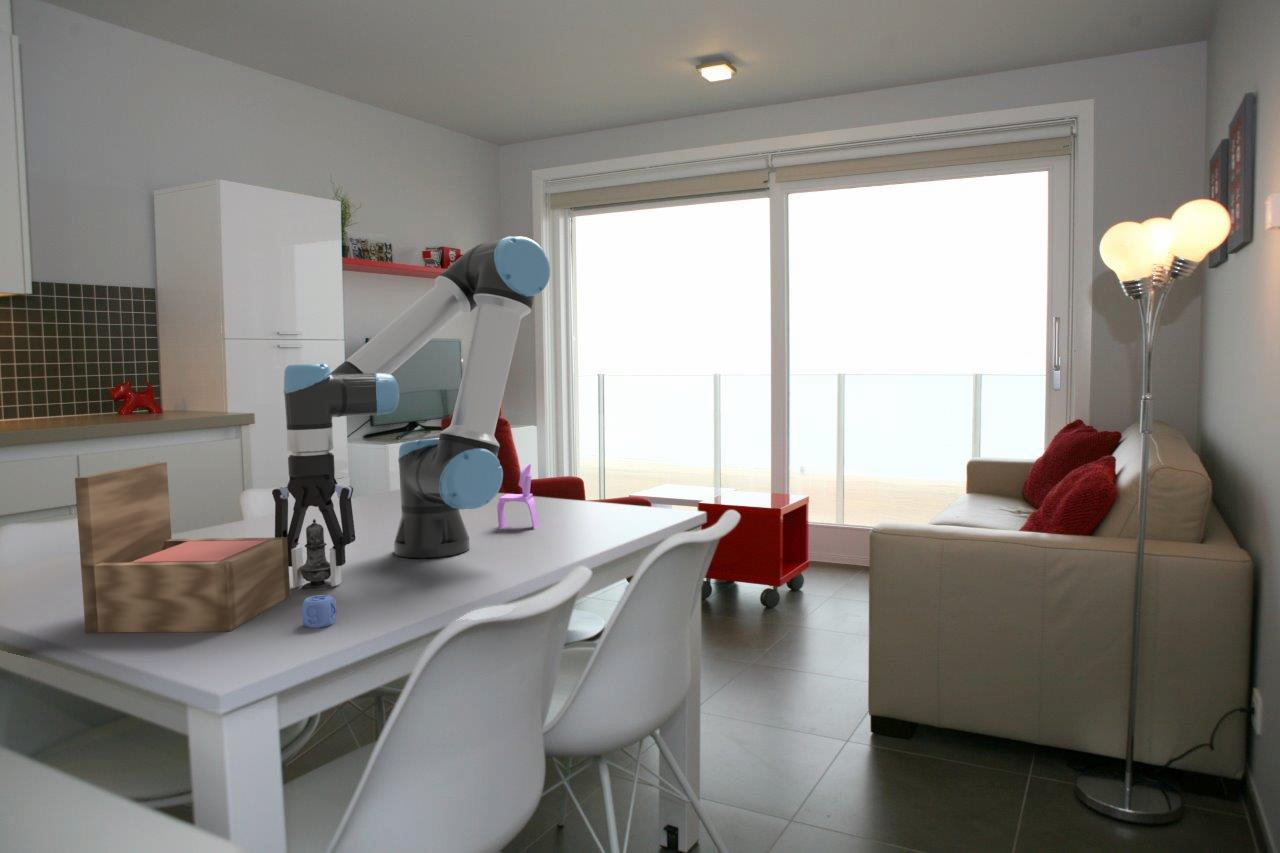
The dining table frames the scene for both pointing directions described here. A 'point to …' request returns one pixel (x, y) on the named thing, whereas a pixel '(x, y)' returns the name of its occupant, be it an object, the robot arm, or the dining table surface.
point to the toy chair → (519, 499)
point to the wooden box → (163, 563)
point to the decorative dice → (319, 611)
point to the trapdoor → (201, 551)
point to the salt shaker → (315, 559)
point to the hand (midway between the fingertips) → (317, 584)
